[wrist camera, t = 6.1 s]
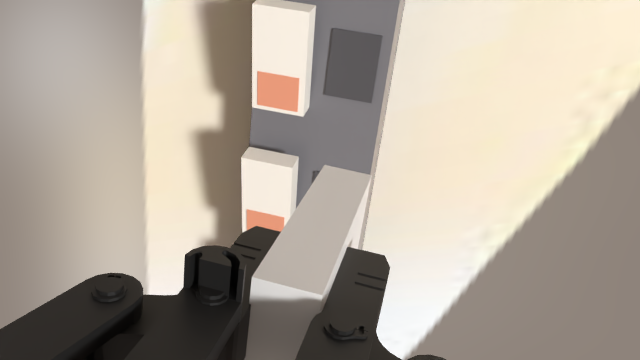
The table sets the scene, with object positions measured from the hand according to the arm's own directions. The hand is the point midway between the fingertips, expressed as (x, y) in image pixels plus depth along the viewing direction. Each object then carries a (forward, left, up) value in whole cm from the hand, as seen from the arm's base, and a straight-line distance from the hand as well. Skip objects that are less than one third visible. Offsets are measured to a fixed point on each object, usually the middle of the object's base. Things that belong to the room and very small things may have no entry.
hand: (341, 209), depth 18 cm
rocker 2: (+10, -8, -19) cm, 23 cm away
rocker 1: (0, -8, -19) cm, 21 cm away
